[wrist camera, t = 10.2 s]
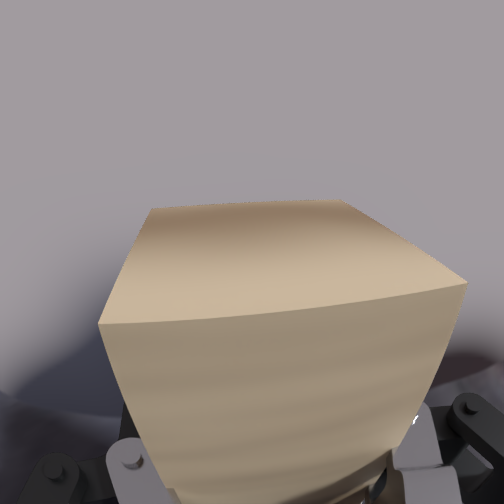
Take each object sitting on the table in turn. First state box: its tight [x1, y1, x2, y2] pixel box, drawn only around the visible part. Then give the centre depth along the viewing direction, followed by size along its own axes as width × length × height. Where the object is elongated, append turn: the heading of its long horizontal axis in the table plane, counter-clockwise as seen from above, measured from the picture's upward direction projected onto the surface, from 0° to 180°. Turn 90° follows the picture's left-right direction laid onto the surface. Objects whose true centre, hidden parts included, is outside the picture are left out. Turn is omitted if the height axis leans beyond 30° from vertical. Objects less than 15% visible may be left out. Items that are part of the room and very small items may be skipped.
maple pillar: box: [98, 200, 468, 504], centre depth 8 cm, size 5×5×12 cm
